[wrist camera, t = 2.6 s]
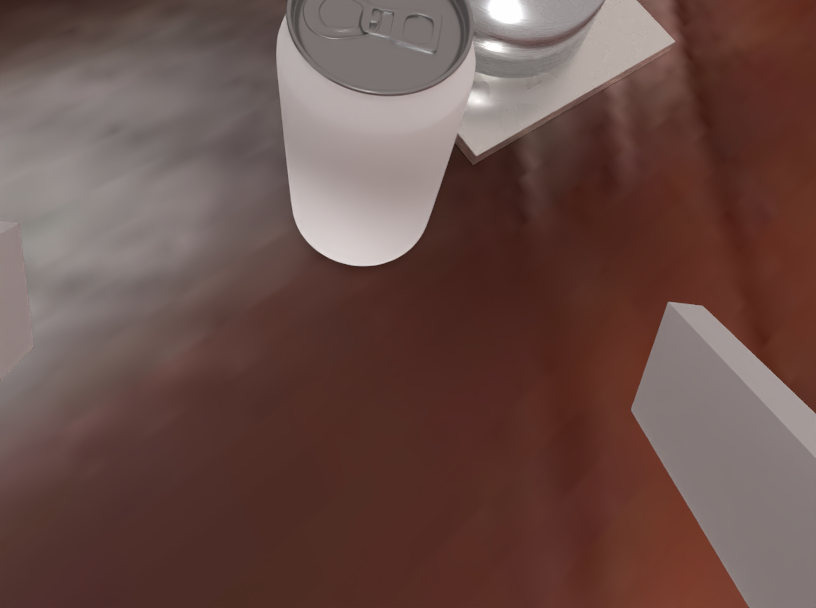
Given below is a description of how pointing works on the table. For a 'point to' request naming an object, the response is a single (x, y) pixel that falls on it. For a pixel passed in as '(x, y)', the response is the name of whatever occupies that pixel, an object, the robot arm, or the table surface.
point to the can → (371, 117)
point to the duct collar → (548, 62)
